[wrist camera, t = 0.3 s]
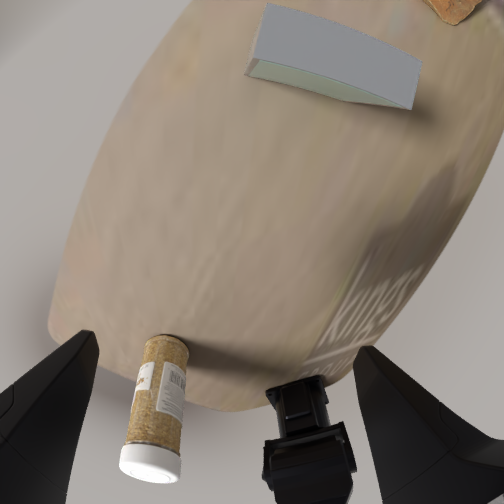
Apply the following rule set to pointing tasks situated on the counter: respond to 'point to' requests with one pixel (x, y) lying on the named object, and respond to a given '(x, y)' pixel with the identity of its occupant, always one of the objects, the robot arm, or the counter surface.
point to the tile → (331, 59)
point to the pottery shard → (452, 9)
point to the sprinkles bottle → (157, 413)
